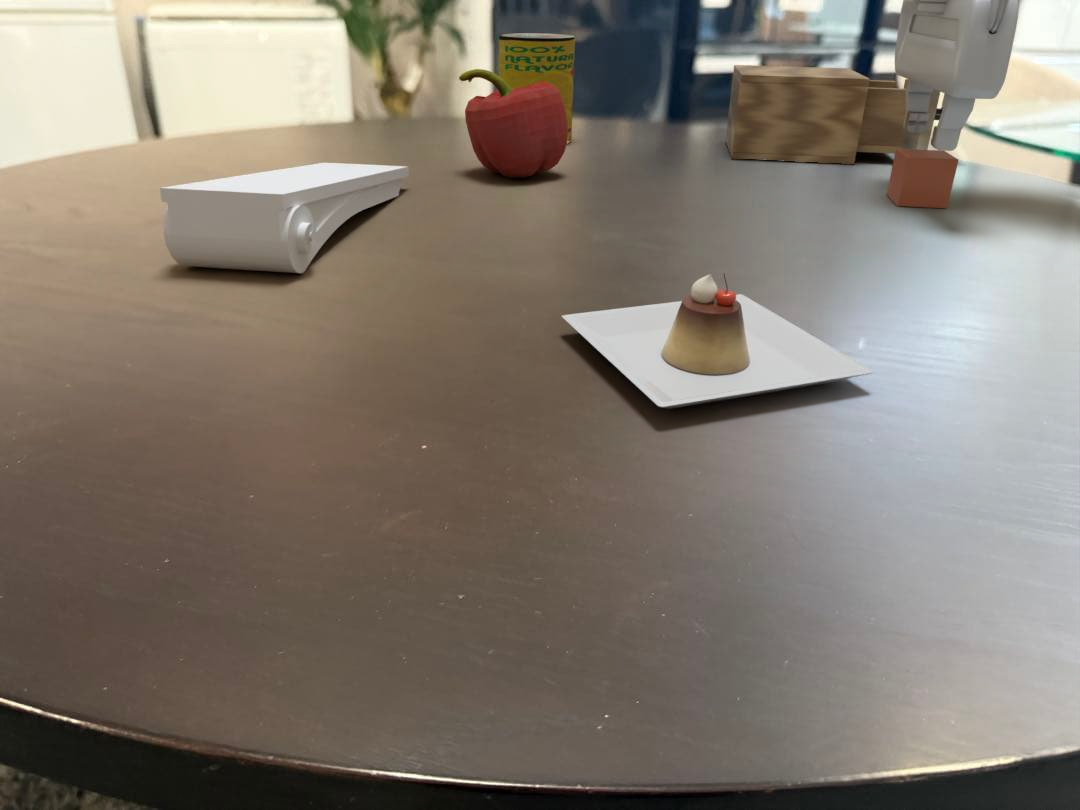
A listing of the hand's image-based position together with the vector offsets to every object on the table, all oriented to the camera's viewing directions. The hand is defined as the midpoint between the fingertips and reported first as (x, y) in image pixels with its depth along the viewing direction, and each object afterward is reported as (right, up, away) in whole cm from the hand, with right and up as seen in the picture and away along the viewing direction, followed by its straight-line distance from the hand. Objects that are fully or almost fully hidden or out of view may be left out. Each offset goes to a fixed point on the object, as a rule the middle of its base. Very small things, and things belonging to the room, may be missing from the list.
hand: (927, 140), depth 76 cm
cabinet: (-6, +6, +24) cm, 25 cm away
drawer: (+4, +6, +22) cm, 24 cm away
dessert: (-26, -22, -31) cm, 46 cm away
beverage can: (-36, +9, +28) cm, 46 cm away
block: (0, -5, +3) cm, 6 cm away
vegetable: (-38, 0, +10) cm, 39 cm away
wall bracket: (-54, -10, -8) cm, 55 cm away
